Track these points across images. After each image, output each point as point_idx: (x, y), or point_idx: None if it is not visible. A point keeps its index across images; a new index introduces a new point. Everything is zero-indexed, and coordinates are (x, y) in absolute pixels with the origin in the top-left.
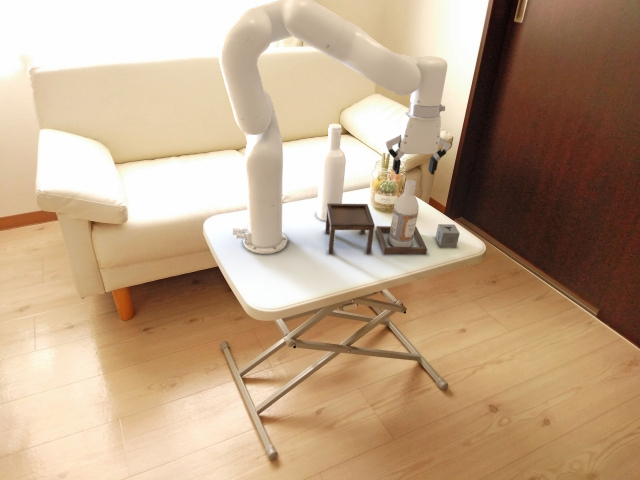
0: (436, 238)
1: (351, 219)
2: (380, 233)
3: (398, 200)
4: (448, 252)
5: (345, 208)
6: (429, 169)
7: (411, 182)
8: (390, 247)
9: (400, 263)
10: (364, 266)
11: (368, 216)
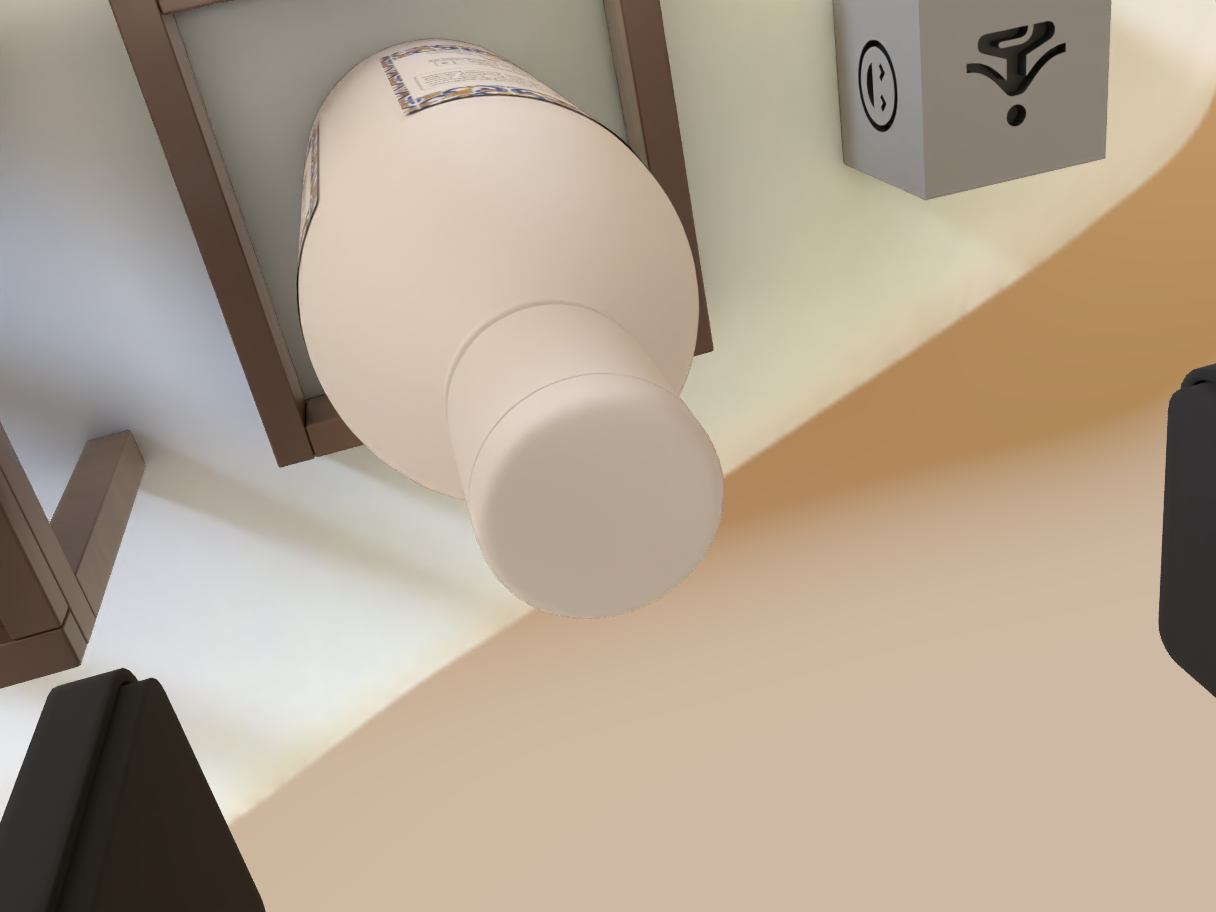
0: (843, 23)
1: None
2: (186, 167)
3: (359, 407)
4: (908, 234)
5: None
6: (1207, 497)
7: (617, 540)
8: (339, 427)
9: (452, 526)
10: (128, 658)
11: None
